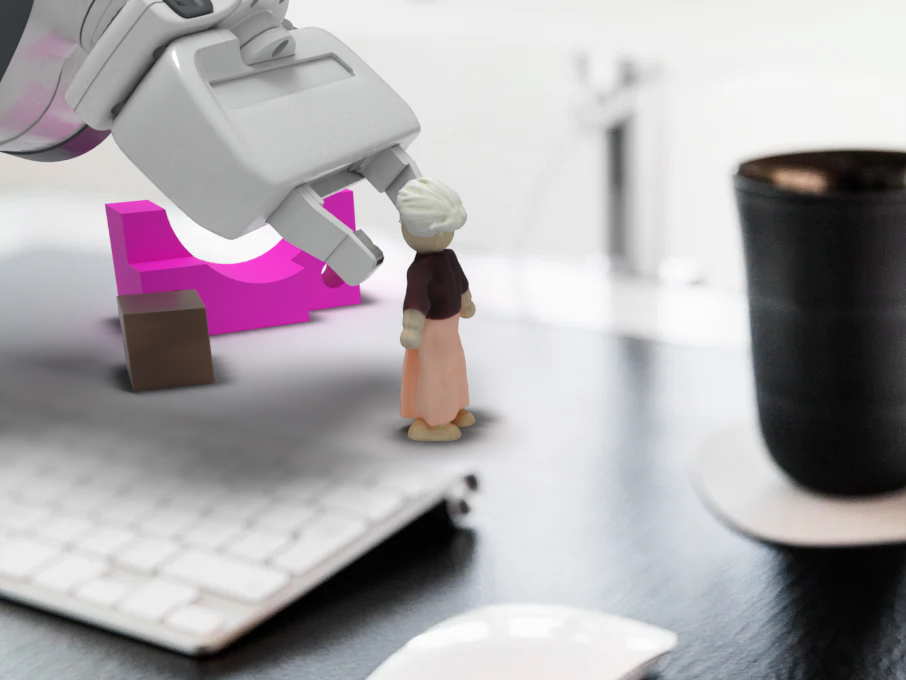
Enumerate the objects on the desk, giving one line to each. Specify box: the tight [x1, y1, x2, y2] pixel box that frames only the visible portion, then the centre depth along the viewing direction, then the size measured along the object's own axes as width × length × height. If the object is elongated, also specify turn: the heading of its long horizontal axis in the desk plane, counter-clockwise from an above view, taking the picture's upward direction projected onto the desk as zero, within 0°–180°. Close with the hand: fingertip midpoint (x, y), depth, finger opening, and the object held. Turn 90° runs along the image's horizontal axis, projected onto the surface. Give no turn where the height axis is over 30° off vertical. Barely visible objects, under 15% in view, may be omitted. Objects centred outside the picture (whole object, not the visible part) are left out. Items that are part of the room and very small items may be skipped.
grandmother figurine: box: [395, 176, 477, 442], centre depth 70 cm, size 8×4×13 cm, turn 174°
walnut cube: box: [116, 289, 216, 392], centre depth 80 cm, size 4×4×4 cm
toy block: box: [104, 188, 362, 337], centre depth 91 cm, size 15×6×8 cm, turn 122°
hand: (406, 251), depth 69 cm, fingers open, 8 cm apart
